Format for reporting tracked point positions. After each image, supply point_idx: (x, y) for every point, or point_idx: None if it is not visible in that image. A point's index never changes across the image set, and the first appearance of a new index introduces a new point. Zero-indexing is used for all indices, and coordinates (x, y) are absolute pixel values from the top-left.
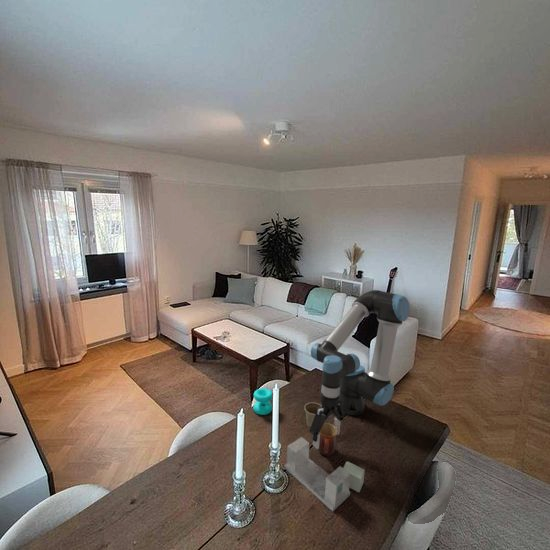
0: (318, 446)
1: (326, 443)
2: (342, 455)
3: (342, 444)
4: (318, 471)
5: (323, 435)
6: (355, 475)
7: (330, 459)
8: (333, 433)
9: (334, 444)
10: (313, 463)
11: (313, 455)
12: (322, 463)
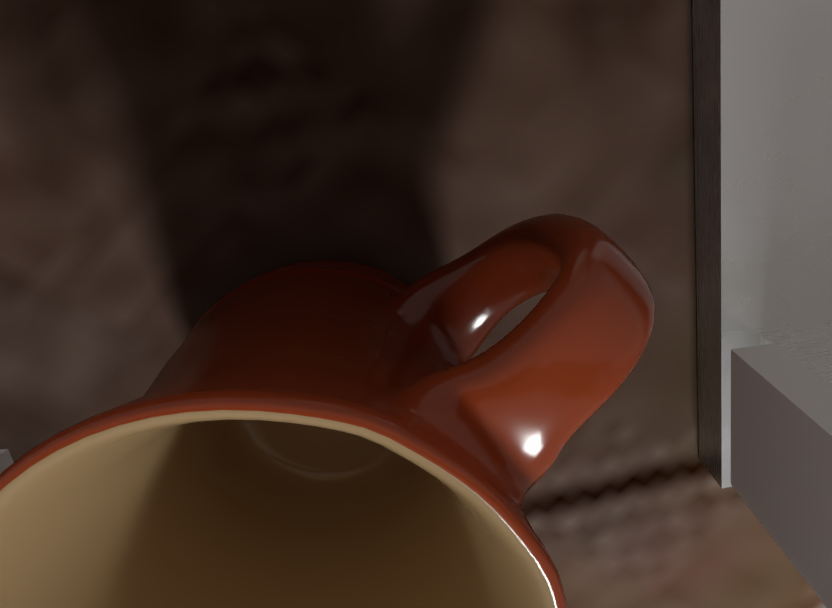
0: (784, 373)
1: (629, 313)
2: (160, 170)
3: (11, 340)
4: (811, 73)
5: (551, 568)
6: None
7: (392, 207)
8: (108, 521)
9: (236, 317)
10: (745, 247)
11: None
12: (556, 211)
